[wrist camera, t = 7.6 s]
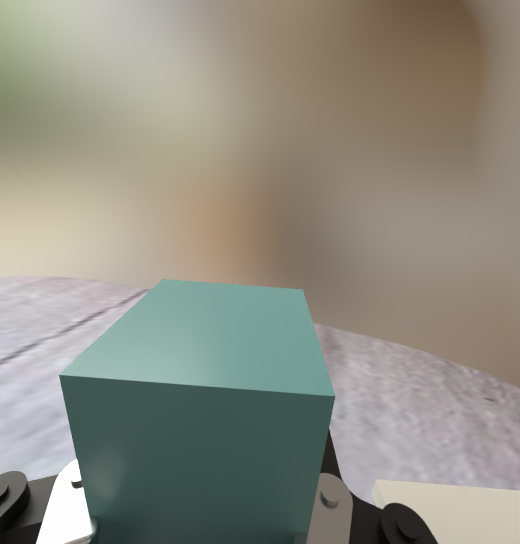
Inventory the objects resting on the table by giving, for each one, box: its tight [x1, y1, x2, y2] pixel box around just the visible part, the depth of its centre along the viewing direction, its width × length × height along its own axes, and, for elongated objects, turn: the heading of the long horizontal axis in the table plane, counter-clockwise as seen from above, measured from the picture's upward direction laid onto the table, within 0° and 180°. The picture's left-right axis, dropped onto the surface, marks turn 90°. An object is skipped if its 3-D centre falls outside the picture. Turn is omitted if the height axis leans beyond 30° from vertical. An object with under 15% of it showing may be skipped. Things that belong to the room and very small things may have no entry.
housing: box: [59, 279, 335, 544], centre depth 10 cm, size 5×5×12 cm
